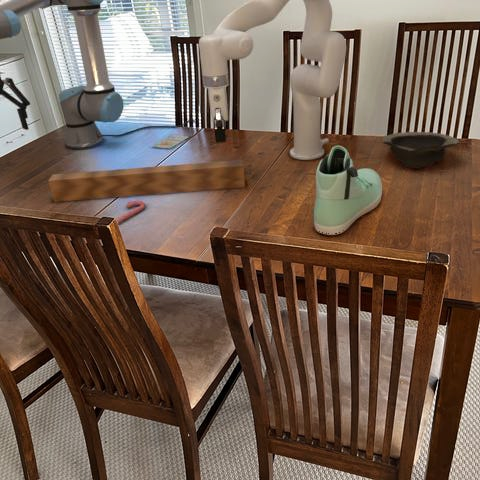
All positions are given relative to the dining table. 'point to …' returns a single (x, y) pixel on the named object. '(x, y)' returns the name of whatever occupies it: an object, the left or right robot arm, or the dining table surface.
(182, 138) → the baking ingredient package
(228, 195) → the dining table surface
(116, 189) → the post
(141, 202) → the candy cane
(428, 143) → the stone bowl
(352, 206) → the sneaker
